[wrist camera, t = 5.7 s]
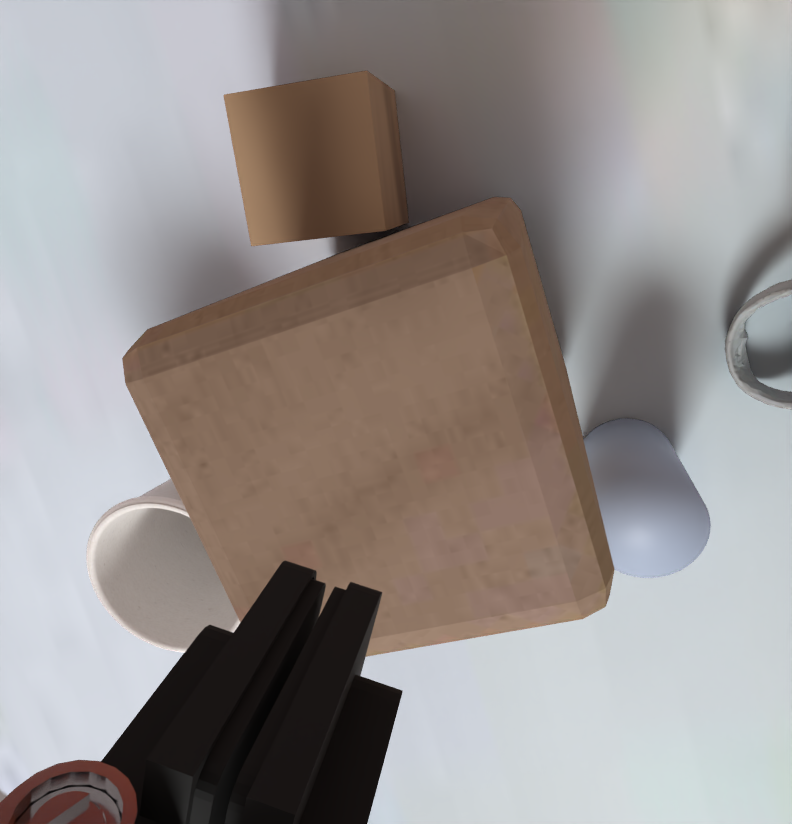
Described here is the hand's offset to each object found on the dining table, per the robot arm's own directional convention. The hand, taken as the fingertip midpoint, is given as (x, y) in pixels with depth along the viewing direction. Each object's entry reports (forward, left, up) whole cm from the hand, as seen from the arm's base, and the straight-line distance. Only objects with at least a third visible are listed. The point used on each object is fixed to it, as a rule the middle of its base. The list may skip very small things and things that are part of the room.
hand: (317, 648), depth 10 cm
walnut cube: (+8, -6, -25) cm, 27 cm away
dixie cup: (+10, +13, -25) cm, 30 cm away
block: (+1, 0, -25) cm, 25 cm away
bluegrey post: (-10, +5, -25) cm, 27 cm away
